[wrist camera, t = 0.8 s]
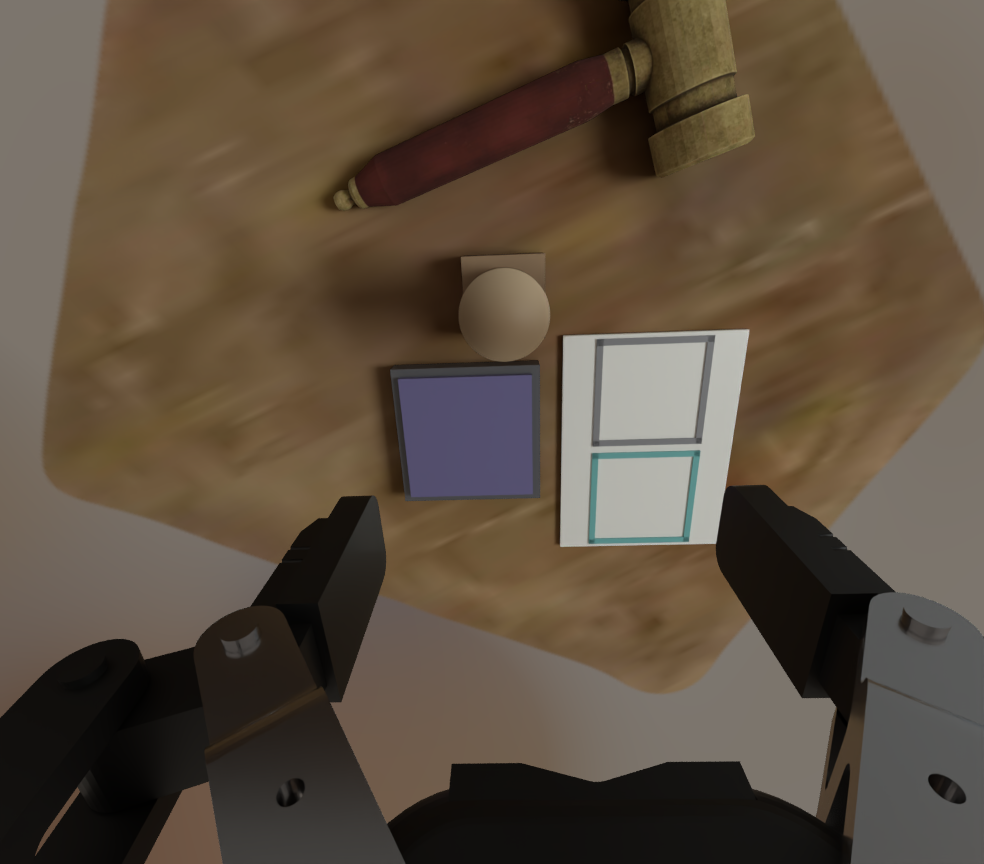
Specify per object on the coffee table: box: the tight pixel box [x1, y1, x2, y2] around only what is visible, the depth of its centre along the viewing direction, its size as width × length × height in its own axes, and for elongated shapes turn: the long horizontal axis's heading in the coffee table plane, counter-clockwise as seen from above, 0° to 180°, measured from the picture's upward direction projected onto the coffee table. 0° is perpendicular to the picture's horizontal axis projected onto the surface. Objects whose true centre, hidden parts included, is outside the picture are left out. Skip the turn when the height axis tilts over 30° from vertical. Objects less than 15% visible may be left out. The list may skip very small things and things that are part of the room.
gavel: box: [334, 0, 755, 211], centre depth 24 cm, size 21×5×10 cm
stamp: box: [459, 253, 550, 362], centre depth 24 cm, size 4×4×9 cm
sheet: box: [560, 329, 749, 547], centre depth 32 cm, size 15×11×1 cm
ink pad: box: [390, 360, 540, 501], centre depth 31 cm, size 9×9×2 cm
